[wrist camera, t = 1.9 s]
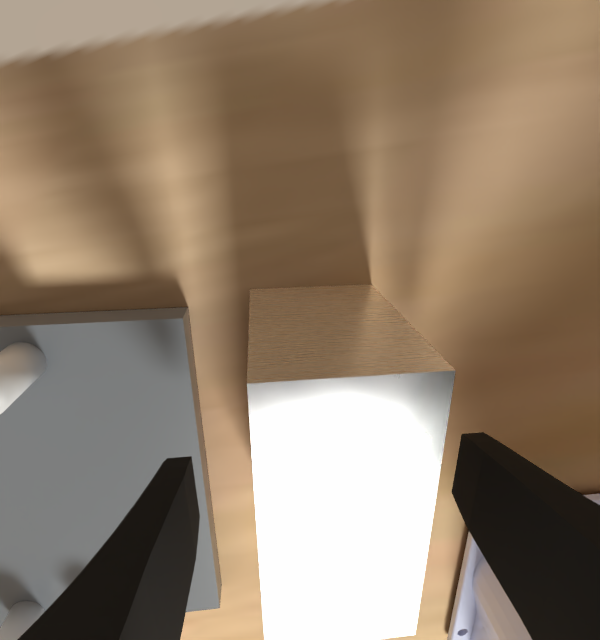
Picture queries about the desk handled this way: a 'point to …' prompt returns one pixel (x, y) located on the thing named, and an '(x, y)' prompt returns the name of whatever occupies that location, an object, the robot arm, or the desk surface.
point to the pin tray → (91, 445)
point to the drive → (342, 460)
